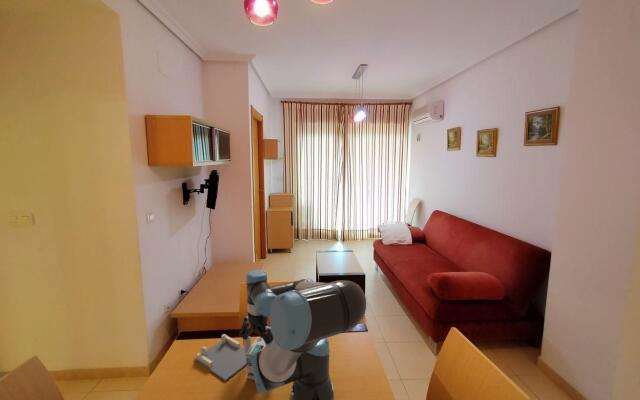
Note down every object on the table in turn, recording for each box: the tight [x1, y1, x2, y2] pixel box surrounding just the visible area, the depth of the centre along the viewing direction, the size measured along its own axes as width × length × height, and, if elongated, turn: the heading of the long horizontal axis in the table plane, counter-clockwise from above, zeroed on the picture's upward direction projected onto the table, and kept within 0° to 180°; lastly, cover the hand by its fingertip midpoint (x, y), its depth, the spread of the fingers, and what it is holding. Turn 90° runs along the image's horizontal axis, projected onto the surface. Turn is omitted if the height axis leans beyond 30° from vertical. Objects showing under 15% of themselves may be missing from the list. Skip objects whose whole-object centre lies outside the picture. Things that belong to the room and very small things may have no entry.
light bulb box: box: [246, 336, 266, 381], centre depth 117 cm, size 11×7×11 cm, turn 168°
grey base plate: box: [193, 333, 247, 382], centre depth 124 cm, size 20×16×5 cm
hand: (259, 359), depth 117 cm, fingers open, 13 cm apart
